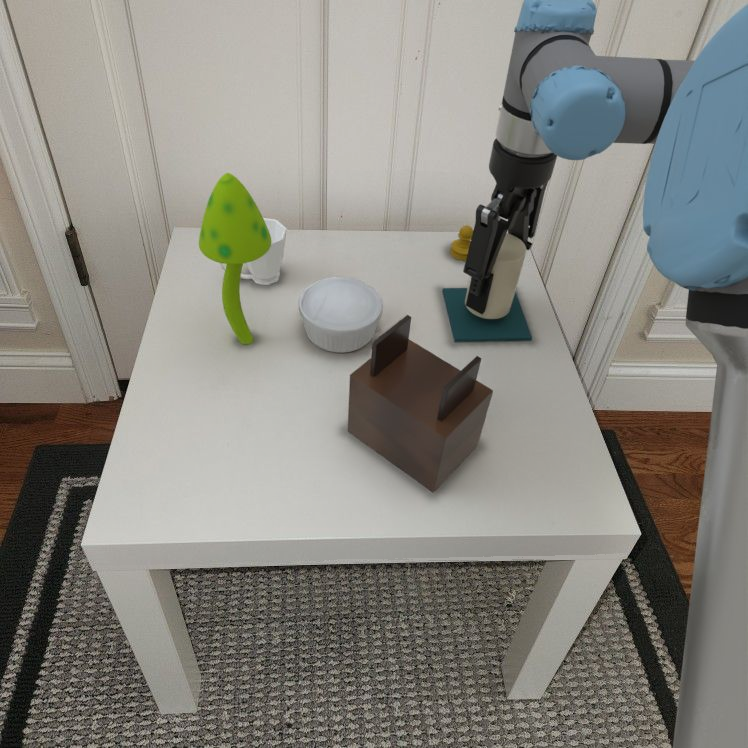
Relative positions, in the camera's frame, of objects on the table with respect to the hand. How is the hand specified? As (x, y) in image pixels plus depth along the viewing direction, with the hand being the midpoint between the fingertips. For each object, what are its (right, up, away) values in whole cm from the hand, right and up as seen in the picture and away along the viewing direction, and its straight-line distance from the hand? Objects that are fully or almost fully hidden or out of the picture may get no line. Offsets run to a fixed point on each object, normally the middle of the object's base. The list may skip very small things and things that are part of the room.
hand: (489, 296), depth 93 cm
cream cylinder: (0, -1, +1) cm, 1 cm away
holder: (-12, -19, -14) cm, 26 cm away
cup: (-34, +3, +6) cm, 35 cm away
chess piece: (-2, +8, +13) cm, 15 cm away
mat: (0, -2, +3) cm, 4 cm away
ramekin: (-21, -5, -1) cm, 22 cm away
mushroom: (-34, -6, -3) cm, 34 cm away
